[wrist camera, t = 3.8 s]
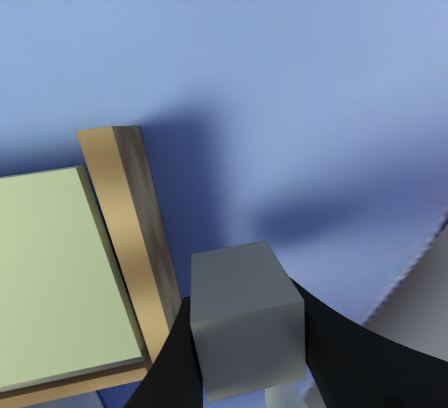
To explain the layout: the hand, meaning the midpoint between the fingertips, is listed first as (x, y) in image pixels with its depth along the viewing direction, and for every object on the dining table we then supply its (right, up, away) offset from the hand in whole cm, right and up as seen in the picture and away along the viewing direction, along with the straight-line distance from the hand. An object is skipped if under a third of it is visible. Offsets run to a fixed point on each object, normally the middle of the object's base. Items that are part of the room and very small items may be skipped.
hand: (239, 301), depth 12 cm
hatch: (-13, 0, 0) cm, 13 cm away
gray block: (0, +1, +2) cm, 2 cm away
